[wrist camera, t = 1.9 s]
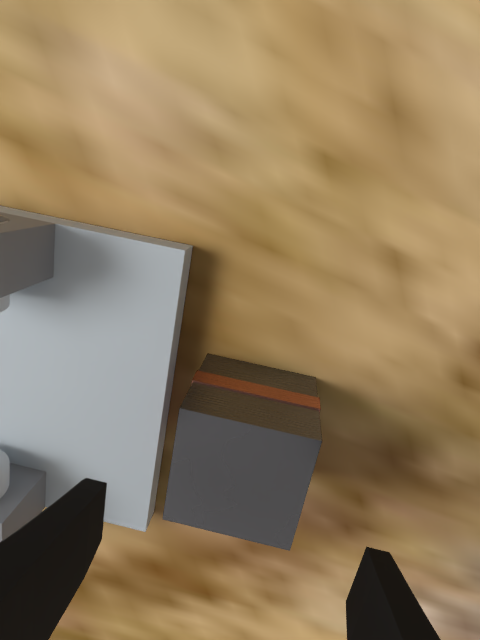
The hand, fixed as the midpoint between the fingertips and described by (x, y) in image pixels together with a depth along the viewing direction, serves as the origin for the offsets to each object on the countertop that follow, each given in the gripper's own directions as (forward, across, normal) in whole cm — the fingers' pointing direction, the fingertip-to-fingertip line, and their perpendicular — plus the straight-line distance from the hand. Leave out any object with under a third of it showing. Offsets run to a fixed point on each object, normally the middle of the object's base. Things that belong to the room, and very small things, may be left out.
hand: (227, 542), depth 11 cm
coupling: (+7, 0, 0) cm, 7 cm away
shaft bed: (+7, +11, 0) cm, 13 cm away
